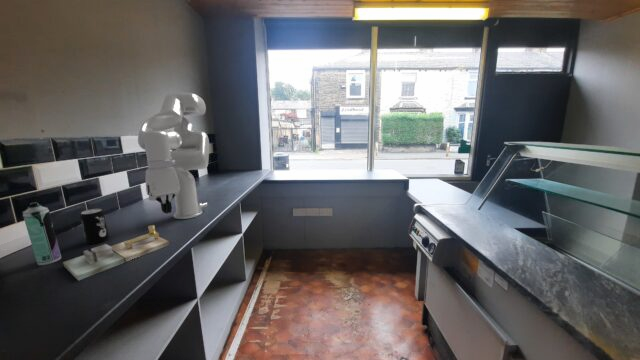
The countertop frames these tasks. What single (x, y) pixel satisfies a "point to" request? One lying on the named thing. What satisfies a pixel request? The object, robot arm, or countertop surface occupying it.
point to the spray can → (41, 234)
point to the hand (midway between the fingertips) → (167, 212)
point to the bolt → (143, 237)
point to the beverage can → (94, 226)
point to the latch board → (110, 256)
